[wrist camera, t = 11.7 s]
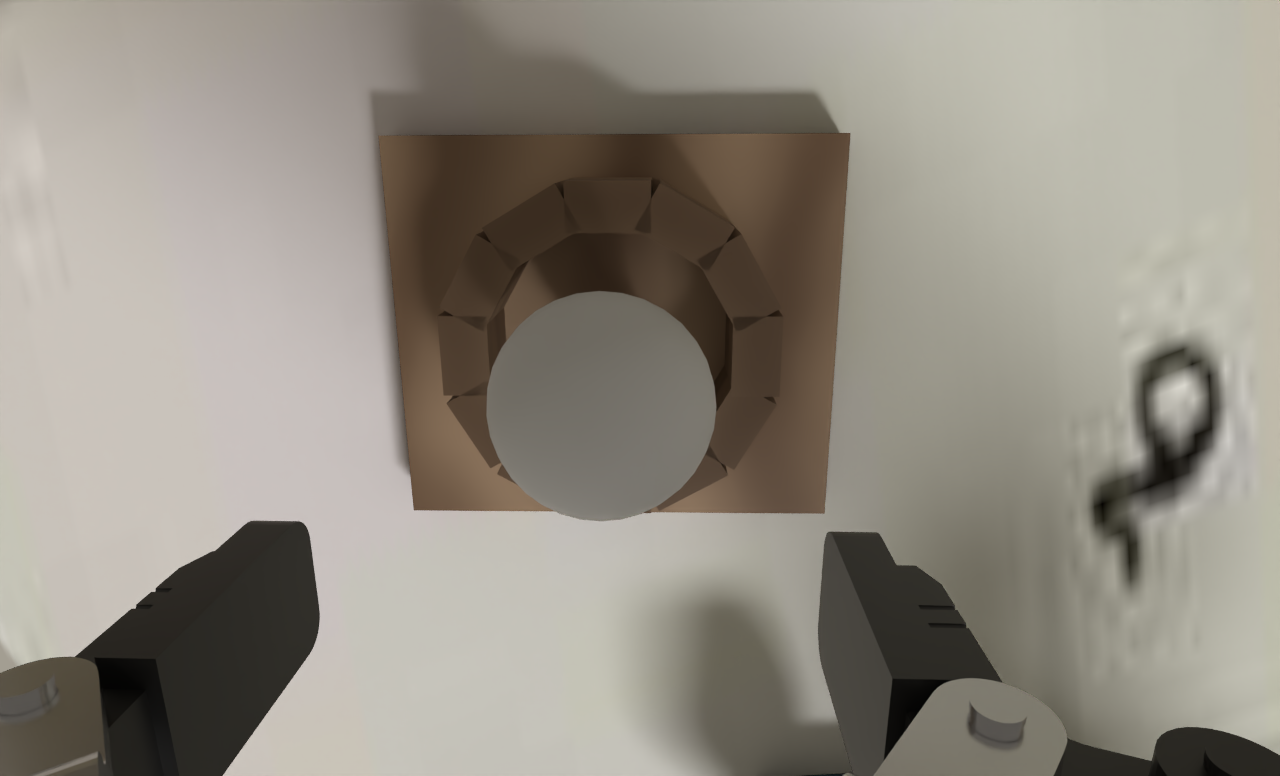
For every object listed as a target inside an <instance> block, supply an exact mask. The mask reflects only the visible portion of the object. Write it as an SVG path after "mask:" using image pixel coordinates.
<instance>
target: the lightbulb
mask: <svg viewBox="0 0 1280 776" xmlns="http://www.w3.org/2000/svg"><path fill="white" fill-rule="evenodd" d="M486 416H487V422H488V428H489V433H490V438H491V440H492V443H493V445H494V448H495V450H496V453H497V455H498V458H499V459H500V461H501V463H502V464H503V466H504V467H505V469H506V471H507V472H508V474H509V475H510V477H511V478H512V479H513V480H514V482H515V483H516V484H517V485H518V486H519V487H520V488H521V489H522V490H523V491H524V492H525V493H526V494H527V495H529V496H530V497H532V498H533V499H534V500H536V501H537V502H539V503H540V504H541V505H543V506H545V507H547V508H549V509H551V510H553V511H556V512H558V513H560V514H563V515H566V516H570V517H574V518H577V519H582V520H593V521H609V520H619V519H625V518H628V517H632V516H635V515H639V514H642V513H644V512H646V511H648V510H650V509H652V508H654V507H656V506H658V505H660V504H661V503H663V502H664V501H665V500H667V499H668V498H669V497H671V496H672V495H673V494H674V493H676V492H677V491H678V490H680V489H681V488H682V487H683V485H684V484H685V483H686V482H687V481H688V480H689V479H690V478H691V476H692V475H693V474H694V473H695V471H696V469H697V468H698V466H699V464H700V463H701V461H702V459H703V457H704V456H705V453H706V451H707V449H708V446H709V443H710V440H711V437H712V434H713V431H714V425H715V416H716V397H715V386H714V382H713V378H712V375H711V372H710V368H709V365H708V362H707V359H706V357H705V356H704V354H703V352H702V350H701V348H700V346H699V345H698V343H697V341H696V340H695V339H694V337H693V336H692V335H691V334H690V333H689V331H688V330H687V329H686V328H685V327H684V326H683V324H682V323H680V322H679V321H678V320H677V319H675V318H674V317H673V316H672V315H670V314H669V313H668V312H667V311H665V310H664V309H662V308H660V307H658V306H656V305H654V304H652V303H650V302H648V301H646V300H644V299H641V298H638V297H634V296H631V295H627V294H624V293H617V292H605V291H594V292H585V293H576V294H573V295H570V296H567V297H564V298H560V299H557V300H554V301H553V302H551V303H549V304H547V305H545V306H544V307H542V308H540V309H538V310H536V311H535V312H534V313H533V314H531V315H530V316H529V317H528V318H527V319H526V320H525V321H523V322H522V323H521V324H520V325H519V326H518V327H517V328H516V329H515V331H514V332H513V333H512V335H511V336H510V337H509V339H508V340H507V341H506V343H505V344H504V345H503V346H502V348H501V350H500V352H499V354H498V356H497V358H496V361H495V363H494V365H493V367H492V371H491V375H490V379H489V383H488V387H487V414H486Z"/></svg>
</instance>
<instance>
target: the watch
mask: <svg viewBox="0 0 1280 776" xmlns="http://www.w3.org/2000/svg"><path fill="white" fill-rule="evenodd" d="M845 774H846V773H845ZM843 775H844V774H826V775H807V776H843Z"/></svg>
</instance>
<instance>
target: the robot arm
mask: <svg viewBox="0 0 1280 776" xmlns="http://www.w3.org/2000/svg"><path fill="white" fill-rule="evenodd" d="M319 619H320V613H319V604H318V596H317V589H316V581H315V573H314V566H313V558H312V550H311V543H310V536H309V533H308V530H307V528H306V526H305V525H304V524H303V523H302V522H299V521H250V522H248V523H247V524H245V525H244V526H243V527H242V528H241V529H240V530H238V531H237V532H236V533H235V534H234V535H233V536H232V537H230V538H229V539H228V540H227V541H226V542H225V543H224V544H223V545H221V546H220V547H219V548H218V549H217V550H216V551H212V552H210V553H208V554H206V555H204V556H202V557H200V558H198V559H197V560H195V561H193V562H191V563H189V564H187V565H185V566H183V567H181V568H179V569H178V570H177V571H175V572H174V573H173V574H172V575H171V576H169V577H168V578H167V579H166V580H165V581H164V582H162V583H161V584H160V585H159V586H158V587H157V588H156V591H155V592H151V593H149V594H148V595H147V596H146V597H145V598H144V599H142V600H141V601H140V602H139V603H138V604H137V605H136V609H131V610H130V611H128V612H127V613H126V614H125V615H124V616H122V617H121V618H120V619H119V620H118V621H117V622H115V623H114V624H113V625H112V626H111V627H110V628H108V629H107V630H106V631H105V632H104V633H102V634H101V635H100V636H99V637H98V638H97V639H95V640H94V641H93V642H92V643H91V644H90V645H88V646H87V647H86V648H85V649H84V650H82V651H81V652H80V653H79V654H78V655H77V656H75V657H57V658H49V659H43V660H38V661H34V662H30V663H27V664H24V665H20V666H17V667H14V668H12V669H9V670H7V671H4V672H2V673H0V776H222V775H223V774H224V773H225V771H226V770H227V768H228V767H229V766H230V764H231V763H232V761H233V760H234V759H235V757H236V756H237V755H238V753H239V752H240V750H241V749H242V748H243V746H244V745H245V743H246V742H247V741H248V739H249V738H250V736H251V735H252V734H253V732H254V731H255V729H256V728H257V727H258V725H259V724H260V722H261V721H262V720H263V718H264V717H265V715H266V714H267V713H268V711H269V710H270V708H271V707H272V706H273V704H274V703H275V702H276V700H277V699H278V697H279V696H280V695H281V693H282V692H283V690H284V689H285V688H286V686H287V685H288V683H289V682H290V681H291V679H292V678H293V676H294V675H295V674H296V672H297V671H298V669H299V668H300V667H301V665H302V664H303V662H304V661H305V660H306V658H307V657H308V655H309V654H310V652H311V651H312V649H313V647H314V644H315V641H316V638H317V634H318V629H319ZM818 640H819V652H820V660H821V665H822V669H823V672H824V675H825V679H826V682H827V686H828V689H829V692H830V696H831V699H832V703H833V706H834V710H835V713H836V716H837V720H838V723H839V727H840V730H841V734H842V737H843V740H844V744H845V747H846V751H847V754H848V758H849V761H850V764H851V768H852V771H853V773H852V772H847V773H846V774H844V775H843V776H1280V755H1278V754H1276V753H1274V752H1273V751H1271V750H1269V749H1267V748H1265V747H1263V746H1261V745H1259V744H1257V743H1254V742H1252V741H1250V740H1247V739H1245V738H1242V737H1239V736H1236V735H1233V734H1230V733H1226V732H1223V731H1218V730H1213V729H1207V728H1199V727H1184V728H1176V729H1173V730H1170V731H1167V732H1166V733H1164V734H1162V735H1161V736H1160V737H1159V739H1158V740H1157V742H1156V745H1155V749H1154V754H1153V758H1152V761H1149V760H1144V759H1140V758H1136V757H1132V756H1128V755H1123V754H1119V753H1115V752H1111V751H1107V750H1103V749H1098V748H1095V747H1091V746H1088V745H1084V744H1081V743H1078V742H1075V741H1073V740H1070V739H1068V738H1067V732H1066V730H1065V727H1064V725H1063V723H1062V722H1061V720H1060V718H1059V717H1058V716H1057V715H1056V714H1055V713H1054V711H1053V710H1051V709H1050V708H1049V707H1048V706H1047V705H1046V704H1045V703H1043V702H1042V701H1040V700H1039V699H1037V698H1036V697H1034V696H1032V695H1031V694H1029V693H1027V692H1025V691H1023V690H1021V689H1018V688H1016V687H1013V686H1011V685H1008V684H1005V683H1002V681H1001V679H1000V678H999V676H998V675H997V673H996V671H995V670H994V668H993V667H992V665H991V663H990V662H989V660H988V659H987V657H986V655H985V654H984V652H983V650H982V649H981V647H980V646H979V644H978V642H977V641H976V639H975V638H974V636H973V634H972V633H971V631H970V630H969V628H966V623H965V622H964V620H963V618H962V617H961V615H960V614H959V612H958V610H955V605H954V604H953V602H952V601H951V599H950V597H949V596H948V594H947V593H946V591H945V589H944V588H943V586H942V585H941V584H940V583H939V582H937V581H936V580H935V579H933V578H932V577H930V576H929V575H928V574H926V573H925V572H924V571H922V570H921V569H919V568H918V567H917V566H901V565H896V563H895V562H894V560H893V558H892V556H891V554H890V552H889V551H888V549H887V547H886V545H885V543H884V541H883V539H882V538H881V536H880V534H879V533H872V532H828V533H827V535H826V538H825V544H824V554H823V568H822V581H821V595H820V608H819V622H818Z"/></svg>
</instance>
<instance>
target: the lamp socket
mask: <svg viewBox="0 0 1280 776" xmlns="http://www.w3.org/2000/svg"><path fill="white" fill-rule="evenodd" d="M849 146H850V133H786V134H599V135H412V136H379V147H380V157H381V168H382V178H383V189H384V199H385V210H386V221H387V231H388V242H389V252H390V263H391V273H392V284H393V294H394V305H395V316H396V326H397V337H398V347H399V358H400V368H401V379H402V390H403V400H404V411H405V421H406V432H407V442H408V453H409V463H410V474H411V485H412V495H413V506H414V510H458V511H553V510H551V509H549V508H547V507H545V506H543V505H541V504H540V503H539V502H537V501H536V500H534V499H533V498H532V497H530V496H529V495H527V494H526V493H525V492H524V491H523V490H522V489H521V488H520V487H519V486H518V485H517V484H516V483H515V482H514V480H513V479H512V478H511V477H510V475H509V474H508V472H507V471H506V469H505V467H504V466H503V464H502V463H501V461H500V459H499V458H498V455H497V453H496V450H495V448H494V445H493V443H492V440H491V438H490V433H489V428H488V422H487V416H486V414H487V387H488V383H489V379H490V375H491V371H492V367H493V365H494V363H495V361H496V358H497V356H498V354H499V352H500V350H501V348H502V346H503V345H504V344H505V343H506V341H507V340H508V339H509V337H510V336H511V335H512V333H513V332H514V331H515V329H516V328H517V327H518V326H519V325H520V324H521V323H522V322H523V321H525V320H526V319H527V318H528V317H529V316H530V315H531V314H533V313H534V312H535V311H536V310H538V309H540V308H542V307H544V306H545V305H547V304H549V303H551V302H553V301H554V300H557V299H560V298H564V297H567V296H570V295H573V294H576V293H585V292H594V291H605V292H617V293H624V294H627V295H631V296H634V297H638V298H641V299H644V300H646V301H648V302H650V303H652V304H654V305H656V306H658V307H660V308H662V309H664V310H665V311H667V312H668V313H669V314H670V315H672V316H673V317H674V318H675V319H677V320H678V321H679V322H680V323H682V324H683V326H684V327H685V328H686V329H687V330H688V331H689V333H690V334H691V335H692V336H693V337H694V339H695V340H696V341H697V343H698V345H699V346H700V348H701V350H702V352H703V354H704V356H705V357H706V359H707V362H708V365H709V368H710V372H711V375H712V378H713V382H714V386H715V397H716V416H715V425H714V431H713V434H712V437H711V440H710V443H709V446H708V449H707V451H706V453H705V456H704V457H703V459H702V461H701V463H700V464H699V466H698V468H697V469H696V471H695V473H694V474H693V475H692V476H691V478H690V479H689V480H688V481H687V482H686V483H685V484H684V485H683V487H682V488H681V489H680V490H678V491H677V492H676V493H674V494H673V495H672V496H671V497H669V498H668V499H667V500H665V501H664V502H663V503H661V504H660V505H658V506H656V507H654V508H652V509H650V510H648V511H646V512H644V513H651V512H704V513H825V498H826V483H827V469H828V454H829V439H830V425H831V410H832V395H833V381H834V366H835V351H836V336H837V322H838V307H839V292H840V278H841V263H842V248H843V234H844V219H845V204H846V190H847V175H848V160H849Z"/></svg>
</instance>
